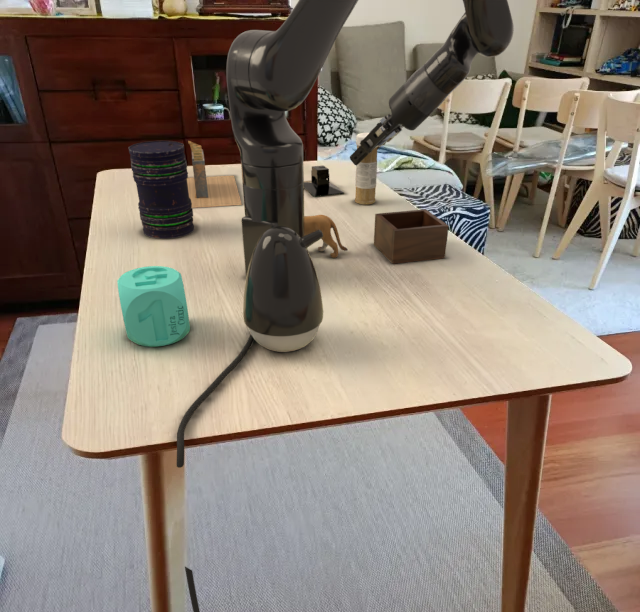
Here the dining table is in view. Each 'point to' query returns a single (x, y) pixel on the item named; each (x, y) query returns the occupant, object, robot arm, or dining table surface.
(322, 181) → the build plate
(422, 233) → the box
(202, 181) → the ruin model on sheet
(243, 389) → the dining table surface
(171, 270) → the decorative dice
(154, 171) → the dark barrel
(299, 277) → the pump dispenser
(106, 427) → the dining table surface
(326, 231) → the lion figurine
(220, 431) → the dining table surface
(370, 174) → the sprinkles bottle
